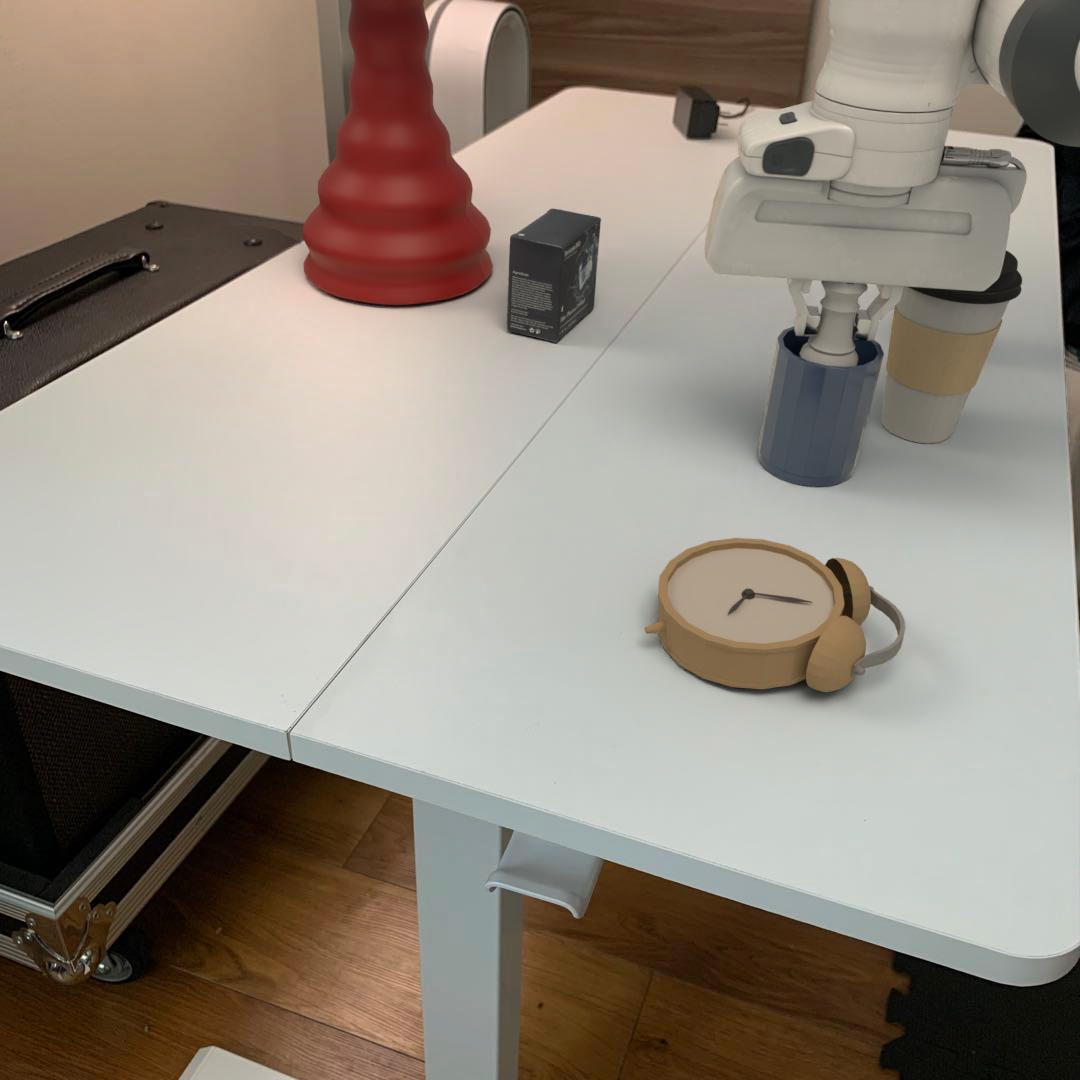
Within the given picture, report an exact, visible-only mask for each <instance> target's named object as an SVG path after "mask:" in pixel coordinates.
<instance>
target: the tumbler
mask: <svg viewBox="0 0 1080 1080" xmlns="http://www.w3.org/2000/svg"><path fill="white" fill-rule="evenodd" d="M808 339H809V336H796V334H795V330H794V325H792V326H790V327H788V328H785V329H783V330H782V331H781V332H780V334H779V335H778V336H777V339H776V344H775V350H774V355H773V359H772V360H773V361H772V366H771V372H770V378H769V383H768V387H767V394H766V400H765V406H764V410H763V411H764V412H763V416H762V421H761V425H760V427H761V428H760V432H759V439H758V448H757V460H758V462H759V464H760V465H761V467H762V468H763V469H765V471H767V472H768V473H769V474H771V475H773V476H774V477H776V478H778V479H781V480H783V481H784V482H788V483H790V484H794V485H799V486H804V487H816V488H817V487H819V488H822V487H831V486H835V485H839V484H842V483H844V482H846V481H848V480H849V479H850V478H851V477H852V476H853V475H854V472H855V469H856V466H857V463H858V460H859V456H860V453H861V449H862V444H863V440H864V437H865V432H866V428H867V425H868V421H869V416H870V413H871V408H872V404H873V399H874V395H875V392H876V388H877V385H878V379H879V375H880V371H881V369H882V368H881V367H882V363H883V359H884V354H885V352H884V351H883V347H882V346H881V344H880V343H879V342H878V341H877V340H875V339H874V341H864V340H853V342H854V344H855V351H856V353H857V354H858V363H857V365H856V366H850V367H840V366H827V365H823V364H819V363H814V362H810V361H807V360H805V359H803V358H801V356H800V354H799V353H800V351H801V349H802V347H803V345H804V344H806V343H807V342H808Z"/></svg>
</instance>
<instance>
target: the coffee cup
mask: <svg viewBox="0 0 1080 1080" xmlns="http://www.w3.org/2000/svg"><path fill="white" fill-rule="evenodd" d="M1018 267H1019V262H1018V259H1017V257H1016V256H1015V255H1014V254H1013V253H1011V252H1010V251H1008V250H1007V249H1006V252H1005V257H1004V262H1003V266H1002V270H1001V274H1000V276H999V278H998V280H997V281H996V282H994V283H993V284H992V285H991V286H990V287H989V288H987V289H986V290H984V291H966V290H951V289H936V288H922V287H907V286H904V288H903V292H902V296H901V300H900V301H899V302H898V303H897V304H896V305H895V306H894V307H893V315H892V322H891V330H890V336H889V343H888V344H889V345H888V350H887V358H886V359H887V360H886V368H885V369H886V370H885V371H886V379H885V387H884V395H883V403H882V411H881V418H880V419H881V420H880V421H881V425H882V426H883V428H884V429H885V430H886V431H888V432H889V433H891V434H893V435H894V436H896V437H898V438H901V439H903V440H907V441H910V442H914V443H920V444H937V443H941V442H944V441H946V440H948V439H949V438H950V437H951V436H952V435H953V433H954V431H955V428H956V426H957V424H958V421H959V419H960V416H961V415H962V412H963V409H964V407H965V405H966V403H967V401H968V398H969V396H970V394H971V392H972V389H974V387H975V386H976V384H977V382H978V380H979V378H980V375H981V374H982V371H983V369H984V366H985V364H986V361H987V359H988V357H989V355H990V352H991V350H992V348H993V345H994V343H995V341H996V338H997V336H998V333H999V331H1000V329H1001V327H1002V323H1003V317H1004V315H1005V312H1006V310H1007V307H1008V305H1009V302H1010V301H1012V300H1015V299H1017V297H1019V296H1020V295H1021V293H1022V284H1023V277H1022V274H1021V272H1019V270H1018Z"/></svg>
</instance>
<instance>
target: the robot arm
mask: <svg viewBox="0 0 1080 1080" xmlns="http://www.w3.org/2000/svg"><path fill="white" fill-rule="evenodd" d="M827 29H828V46H827V52H826V55H825V59H824V62H823V65H822V67H821V69H820V71H819V73H818V75H817V78H816V81H815V85H814V90H813V94H812V95H813V96H812V100H809V101H805V102H802V103H800V104H795V105H791V106H788V107H784V108H780V109H776V110H772V111H768V112H764V113H760V114H755V115H753V116H749V117H747V118H746V119H744V120H743V121H742V122H741V124H740V127H739V130H738V134H737V146H736V148H737V155H738V156H737V157H736V158H734V159H733V160H732V161H730V163H729V164H728V165H727V166H726V167H725V169H724V171H723V173H722V174H721V176H720V179H719V182H718V185H717V188H716V190H715V195H714V198H713V201H712V205H711V210H710V212H709V213H710V214H709V218H708V222H707V227H706V233H705V241H704V257H705V261H706V262H707V264H708V265H709V267H710V268H711V270H712V271H713V273H715V274H718V275H729V276H741V277H742V276H745V277H759V278H774V279H786V283H787V287H788V292H789V294H790V297H791V299H792V301H793V303H794V306H795V310H796V314H795V318H794V325H793V326H794V330H795V334H796V336H809V337H816V336H817V333H818V329H817V327H818V326H819V323H820V318H821V316H820V315H821V312H819V311H820V309H819V307H818V306H814V305H807V303H806V300H805V297H804V294H809V293H810V291H811V286H812V282H813V281H816V282H817V281H819V282H821V281H832V282H847V283H862V284H867V285H876V288H877V290H878V295H877V296H876V297H875V298H874V299H873V301H871V303H870V304H869V305H868V307H867V308H866V309H859V310H858V311H856V314H855V318H854V328H853V340H864V341H874V340H875V339H876V335H877V332H878V327H879V323H880V321H883V319H884V318H885V317H886V316H887V315H888V314H889V313H890V312H891V311H892V310H893V309H894V307H895V305H896V304H897V303H898V302H899V301H900V300H901V296H902V292H903V288H904V286H907V287H922V288H936V289H951V290H966V291H984V290H986V289H987V288H989V287H990V286H991V285H992V284H993V283H994V282H996V281H997V280H998V278H999V276H1000V274H1001V270H1002V266H1003V262H1004V257H1005V252H1006V250H1007V247H1008V242H1009V241H1008V240H1009V232H1010V224H1011V215H1012V214H1013V213H1014V212H1015V211H1016V210H1017V208H1018V207H1019V205H1020V203H1021V200H1022V197H1023V194H1024V190H1025V188H1026V183H1027V178H1028V175H1027V174H1028V173H1027V169H1026V167H1025V165H1024V164H1023V162H1022V161H1021V160H1019V159H1018V158H1016V157H1014V156H1012V153H1011V151H1009V150H1007V149H1001V148H990V149H978V148H974V147H967V146H956V145H955V146H954V145H946V142H947V139H948V138H947V137H948V134H949V130H950V128H951V127H950V126H951V122H952V118H953V114H954V110H955V105H956V102H957V100H958V99H957V98H958V94H959V93H960V92H961V90H963V88H965V87H967V86H969V85H986V86H987V85H988V86H990V87H991V88H992V89H994V90H995V91H996V92H997V93H998V94H1000V95H1001V96H1002V97H1004V98H1005V99H1007V100H1008V102H1009V103H1010V104H1011V106H1012V107H1013V108H1014V109H1015V111H1016V112H1017V114H1018V115H1019V116H1020V117H1021V118H1022V120H1023V121H1024V122H1025V123H1026V125H1027V126H1028V127H1029V128H1030V129H1031V130H1032V131H1033V132H1034V133H1036V134H1037V135H1039V136H1040V137H1042V138H1044V139H1046V140H1048V141H1050V142H1051V143H1054V144H1058V145H1062V146H1067V147H1076V148H1080V0H829V4H828V12H827ZM1010 164H1011V165H1013V166H1009V165H1010Z"/></svg>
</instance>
